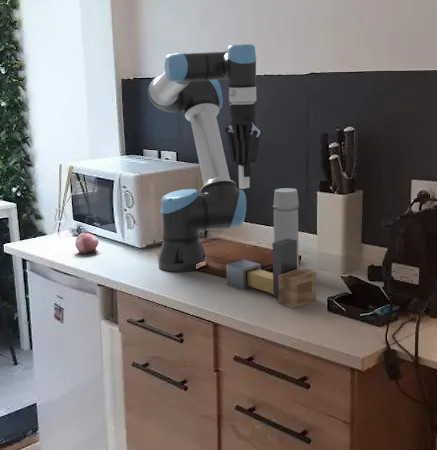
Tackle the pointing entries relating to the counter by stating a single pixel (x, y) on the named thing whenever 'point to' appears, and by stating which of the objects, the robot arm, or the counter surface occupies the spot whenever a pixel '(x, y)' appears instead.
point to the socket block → (297, 287)
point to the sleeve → (239, 273)
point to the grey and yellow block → (275, 267)
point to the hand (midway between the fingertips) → (244, 187)
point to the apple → (86, 243)
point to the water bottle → (286, 216)
